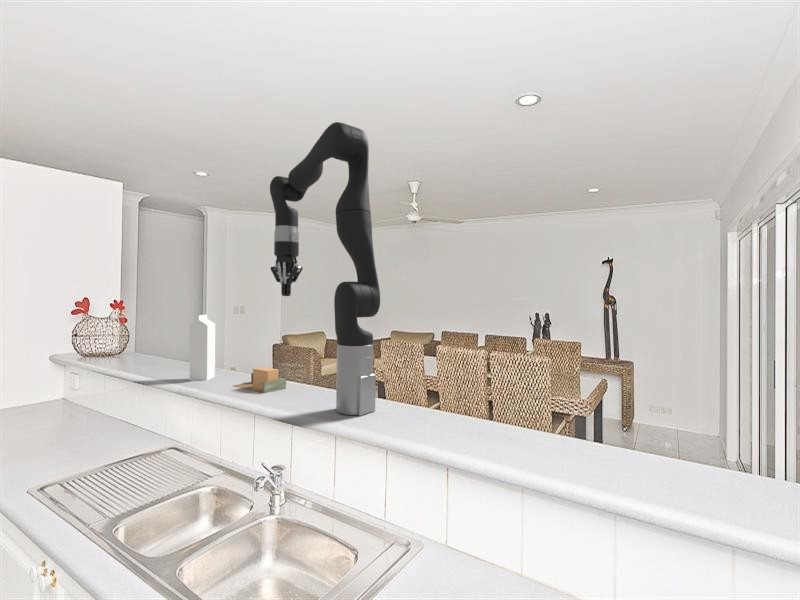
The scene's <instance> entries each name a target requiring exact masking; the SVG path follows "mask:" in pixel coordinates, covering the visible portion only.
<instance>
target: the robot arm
mask: <svg viewBox="0 0 800 600" xmlns="http://www.w3.org/2000/svg"><path fill="white" fill-rule="evenodd" d="M369 147H370V146H369V138H368V135H367V133H366V132H365V131H364V130H363V129H361V128H359V127H355V126H354V125H349V124H347V123H345V122H341V121H337V122H333V123H331V124H330V125H328V126H327V128H325V130H324V131H323V133H322V134H321V135H320V137H319V138H318V140H316V142H315V143H314V144H313V146H312V148H311V149H310V151H309V152H308V154H307V155H306V156H305V157H304V159H302V160H301V161H300V162H298V163H297V165H296V166H294V167H293V168H292V169H291V170H290V171H289V173H288V177H286V176H285V177H284V176H280V175H276V176H275V177H273V178H272V180H270V184H269V194H270V197H271V200H272V203H273V204H272V205H273V208H274V212H275V220H274V221H275V222H274V223H275V224H274V225H275V226H274V233H273V235H274V237H273V238H274V239H273V243H274V245H273V247H274V249H273V255H274V256H275V257H276V259H275V265H274V266H271V267H270V271H271V273H272V275H273V277H274V279H275V280H276V282H277V283H280V285H281V289H280V290H281V293H280V294H281V297H291V293H292V284H293V283H296V282H297V280H298V278H299V276H300V274H301V273H302V271H303V266H302V265H299V264H298V259H297V257H299V253H300V252H299V250H300V248H299V246H300V242H299V241H300V240H299V239H300V237H299V236H300V235H299V233H300V232H299V212H298V210H297V209H295V208H293V207H291V206H289V204H288V203H287V201H288V202H292V203H293V202H294V203H296V202H300V201H301V200H302V199H303V198H304V196H305V195H306V193H307V190H308V189H309V188H310V187H311V186H313V185H314V184H315V183H316V182H318V181H319V180H320V178H321V177H322V174H323V171H324V162H325V161H327V160H329V159H331V158H333V159H334V160H338V161H341V162H344V163H345V162H346V163H347V166H348V181H347V184H346V187H345V189H344V190H343V192H342V194H341V195H340V196H339V199H338V201H337V204H336V207H335V223H336V232H337V237H338V239H339V241H340V243H341V245H342V246H343V247H344V249H345V251H346V252H347V254H348V256H349V257H350V260H352V263H353V265H354V269H355V273H356V278H357V281H342V282H340V283H339V284H338V285H337V287H336V289H335V292H334V301H333V303H334V304H333V306H334V307H333V308H334V330H335V335H336V336H335V337H336V382H335V383H336V388H335V390H336V395H335V396H336V397H335V398H336V399H335V400H336V401H335V403H336V405H335V406H336V409H335V410H336V412H337V413H338V414H341V415H346V416H348V415H349V416H364V415H366V414H369V413H372V412H375V411H376V386H377V385H376V378H377V376H376V375H377V374H376V373H373V369H374V368H373V367H374V365H373V364H374V362H373V361H374V359H373V357H374V335H373V333H372V332H370V331H367V330H365V329H363V328H362V327H360V326H359V324H358V323H359V322H358V318H372V317H374V316H376V315H377V314H378V312H379V309H380V307H381V291H380V285H379V284H380V283H379V279H378V274H377V273H378V272H377V267H376V261H375V253H374V243H373V226H372V223H373V222H372V212H371V211H372V210H371V204H370V190H369V189H370V188H369V163H370V162H369V153H370V152H369V151H370V150H369V149H370V148H369Z"/></svg>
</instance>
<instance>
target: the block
mask: <svg viewBox="0 0 800 600" xmlns="http://www.w3.org/2000/svg"><path fill="white" fill-rule="evenodd" d="M252 373H253V388H255V389H259V390H263V382H268V381H273V380H278V377H279V373H280V372H279V369H276V368H271V367H266V366H262V367H257V368H256V367H255V368H252Z"/></svg>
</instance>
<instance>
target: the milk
mask: <svg viewBox="0 0 800 600" xmlns="http://www.w3.org/2000/svg"><path fill="white" fill-rule="evenodd" d="M215 377H216V323H215V322H213V321H212V320H210V319H208V314H200V315H198V319H197V320H196V321H194V322H192V323H190V324H189V382H196V381H209V380H211V379H214V378H215Z"/></svg>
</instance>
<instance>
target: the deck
mask: <svg viewBox="0 0 800 600" xmlns="http://www.w3.org/2000/svg"><path fill="white" fill-rule="evenodd" d="M250 377H251V382H244V383H240V384H235V385H233V387H235V388H240V389H244V390H248V391H254V392H258V393H261V394H262V393H263V394H268V393H272V392H276V391H281V390H286V389H287V378H283V377H279V376H278V380H273V381H268V382H263V390H259V389H255V388H253V372H251V376H250Z"/></svg>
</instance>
